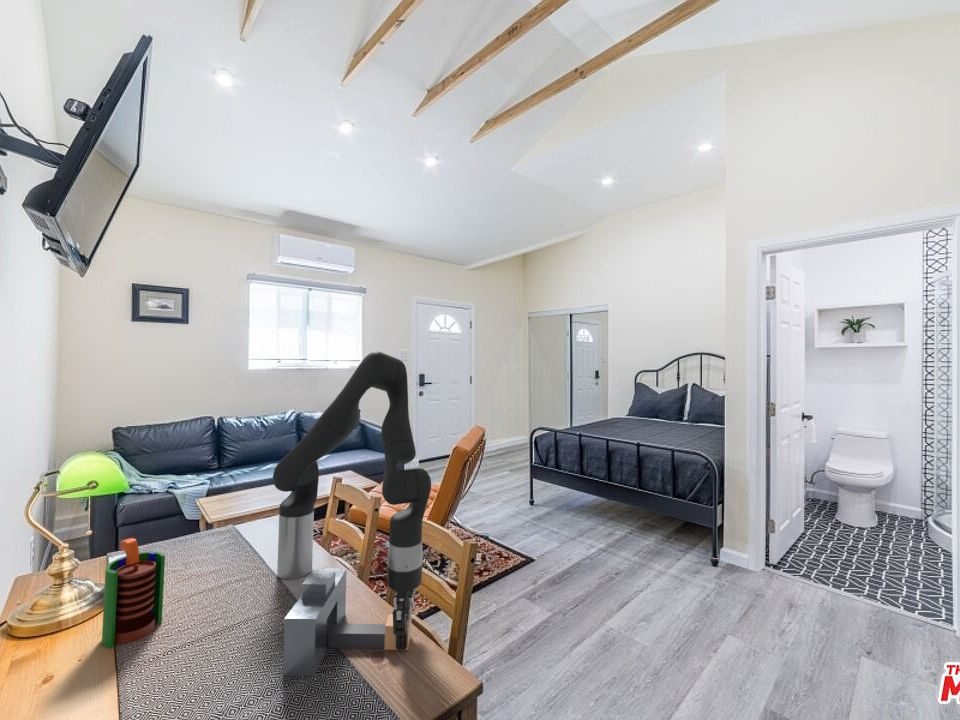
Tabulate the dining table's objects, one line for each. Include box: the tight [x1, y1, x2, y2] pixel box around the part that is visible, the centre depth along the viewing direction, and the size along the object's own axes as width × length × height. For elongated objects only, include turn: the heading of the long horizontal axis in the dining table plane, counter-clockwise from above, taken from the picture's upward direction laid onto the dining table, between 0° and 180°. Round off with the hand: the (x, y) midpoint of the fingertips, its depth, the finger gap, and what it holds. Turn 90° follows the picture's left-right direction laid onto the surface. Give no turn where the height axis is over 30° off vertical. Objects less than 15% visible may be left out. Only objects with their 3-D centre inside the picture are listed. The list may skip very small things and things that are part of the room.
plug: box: [328, 613, 413, 651], centre depth 90 cm, size 17×4×5 cm, turn 91°
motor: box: [101, 537, 166, 649], centre depth 92 cm, size 10×9×20 cm
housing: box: [282, 567, 348, 677], centre depth 90 cm, size 6×20×14 cm, turn 1°
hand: (403, 640), depth 90 cm, fingers closed on plug, 4 cm apart
